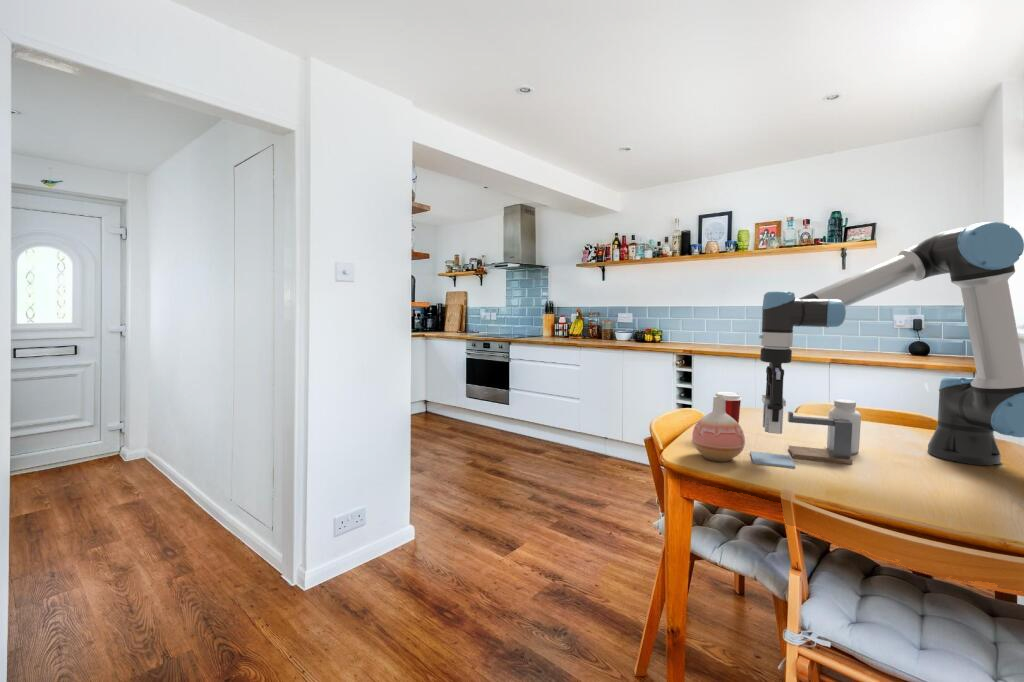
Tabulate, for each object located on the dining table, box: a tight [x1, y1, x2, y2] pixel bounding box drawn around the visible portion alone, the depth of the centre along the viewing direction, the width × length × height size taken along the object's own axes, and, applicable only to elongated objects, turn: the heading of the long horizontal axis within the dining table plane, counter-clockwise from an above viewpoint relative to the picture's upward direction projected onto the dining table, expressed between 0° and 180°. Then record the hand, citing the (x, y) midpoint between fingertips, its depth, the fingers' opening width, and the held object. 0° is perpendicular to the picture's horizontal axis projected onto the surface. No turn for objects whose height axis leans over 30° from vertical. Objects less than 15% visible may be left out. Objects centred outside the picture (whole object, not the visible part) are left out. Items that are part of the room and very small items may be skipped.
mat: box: [749, 450, 796, 469], centre depth 133 cm, size 10×10×1 cm
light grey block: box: [761, 394, 787, 435], centre depth 132 cm, size 5×7×9 cm
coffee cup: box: [714, 391, 743, 425], centre depth 153 cm, size 8×8×15 cm
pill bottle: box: [826, 398, 862, 455], centre depth 142 cm, size 8×8×15 cm
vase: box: [691, 395, 746, 463], centre depth 134 cm, size 14×14×18 cm
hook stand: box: [787, 411, 853, 465], centre depth 136 cm, size 15×9×12 cm, turn 68°
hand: (772, 429), depth 133 cm, fingers closed on light grey block, 7 cm apart
